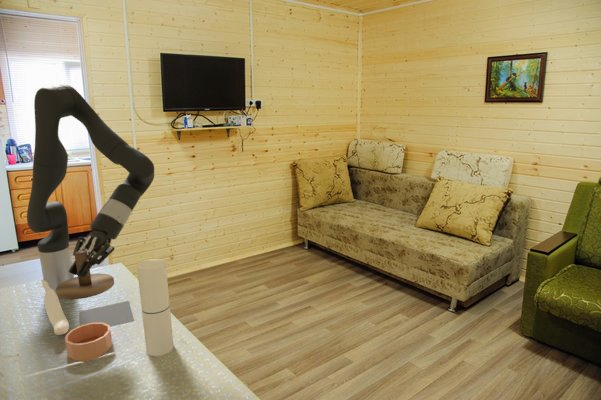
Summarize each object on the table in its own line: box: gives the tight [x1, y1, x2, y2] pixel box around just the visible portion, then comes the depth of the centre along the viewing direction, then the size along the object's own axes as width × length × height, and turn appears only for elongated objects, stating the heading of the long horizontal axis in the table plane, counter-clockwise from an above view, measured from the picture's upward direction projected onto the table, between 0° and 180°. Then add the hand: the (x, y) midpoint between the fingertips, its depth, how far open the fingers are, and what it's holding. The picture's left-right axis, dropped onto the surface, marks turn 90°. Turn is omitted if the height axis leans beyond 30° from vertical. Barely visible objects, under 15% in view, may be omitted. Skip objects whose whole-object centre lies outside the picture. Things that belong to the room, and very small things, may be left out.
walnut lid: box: [56, 250, 115, 301], centre depth 111 cm, size 14×14×10 cm
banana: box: [40, 279, 70, 336], centre depth 123 cm, size 5×19×15 cm, turn 41°
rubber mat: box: [78, 300, 135, 328], centre depth 132 cm, size 15×15×1 cm
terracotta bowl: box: [64, 323, 113, 363], centre depth 115 cm, size 11×11×5 cm
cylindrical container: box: [136, 258, 175, 357], centre depth 112 cm, size 7×7×25 cm
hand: (76, 274), depth 110 cm, fingers closed on walnut lid, 3 cm apart
